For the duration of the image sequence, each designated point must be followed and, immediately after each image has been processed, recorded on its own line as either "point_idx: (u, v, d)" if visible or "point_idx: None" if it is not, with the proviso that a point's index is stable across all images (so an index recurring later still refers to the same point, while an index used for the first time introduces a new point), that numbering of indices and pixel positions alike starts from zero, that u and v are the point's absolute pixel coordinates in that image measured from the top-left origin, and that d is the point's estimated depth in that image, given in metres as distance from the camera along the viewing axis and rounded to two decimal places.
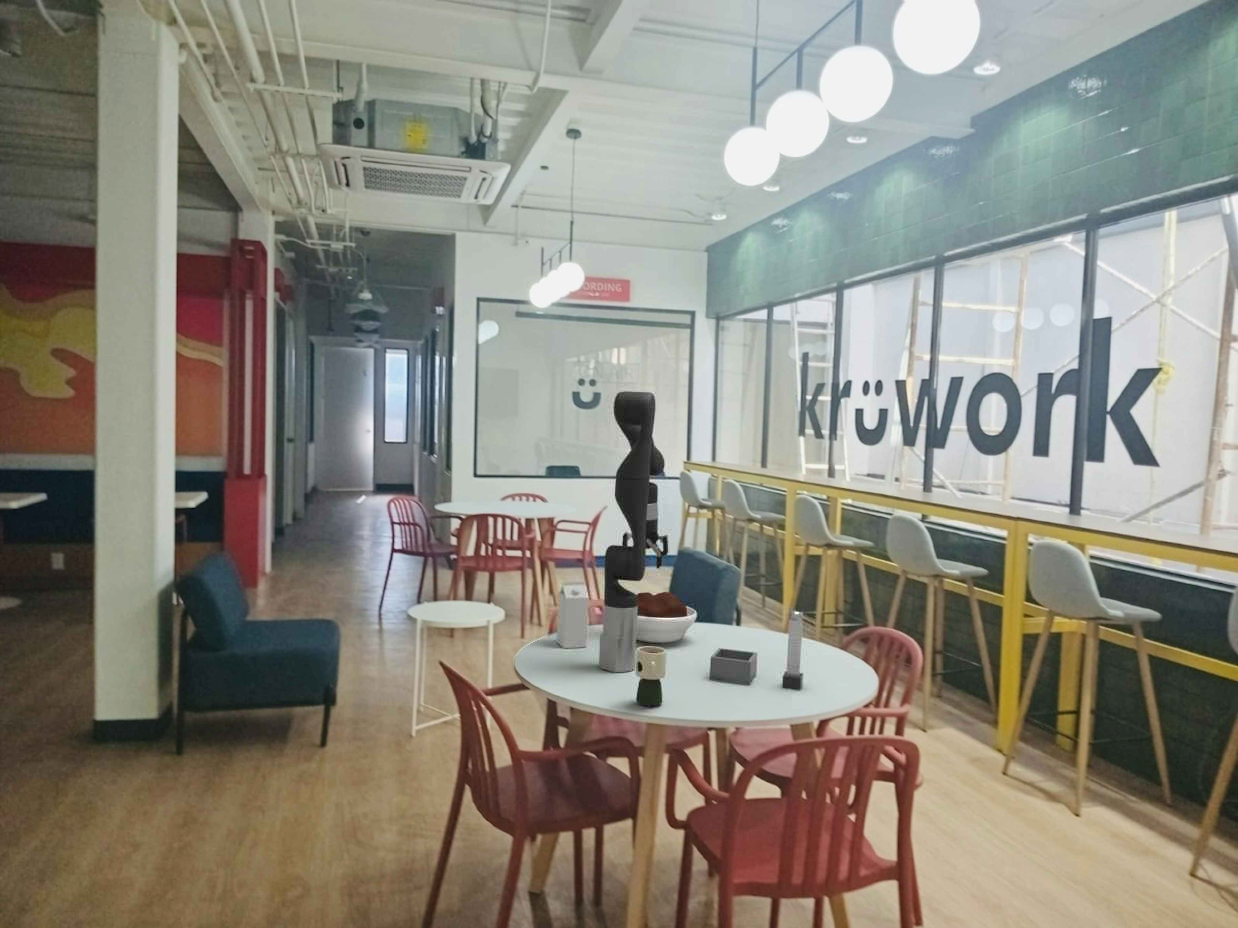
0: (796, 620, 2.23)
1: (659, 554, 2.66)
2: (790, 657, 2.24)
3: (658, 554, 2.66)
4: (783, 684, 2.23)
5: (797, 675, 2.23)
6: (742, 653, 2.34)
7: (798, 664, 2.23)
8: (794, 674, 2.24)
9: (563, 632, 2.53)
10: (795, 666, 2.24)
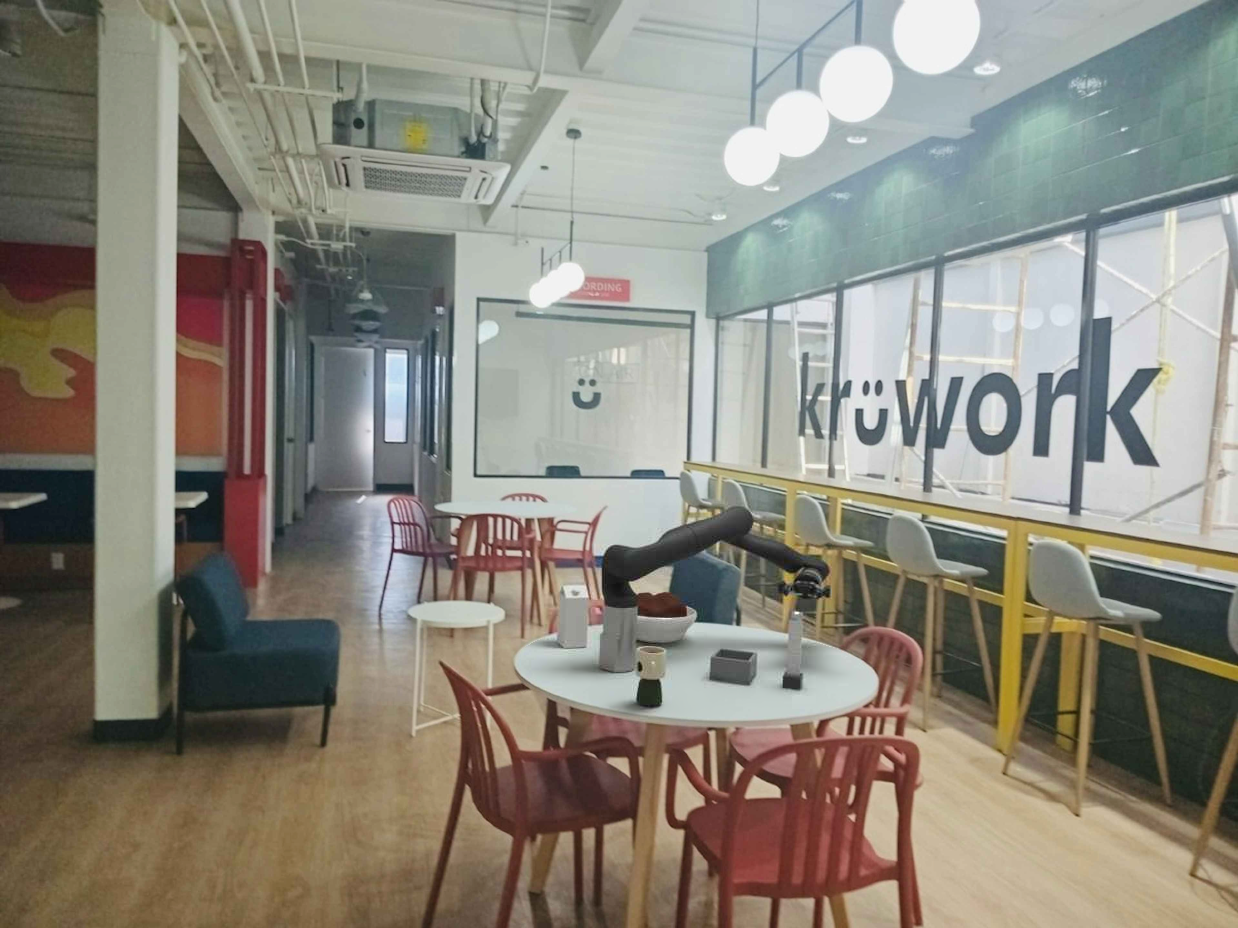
0: (796, 620, 2.23)
1: (821, 588, 2.38)
2: (790, 657, 2.24)
3: (820, 588, 2.38)
4: (783, 684, 2.23)
5: (797, 675, 2.23)
6: (742, 653, 2.34)
7: (798, 664, 2.23)
8: (794, 674, 2.24)
9: (563, 632, 2.53)
10: (795, 666, 2.24)
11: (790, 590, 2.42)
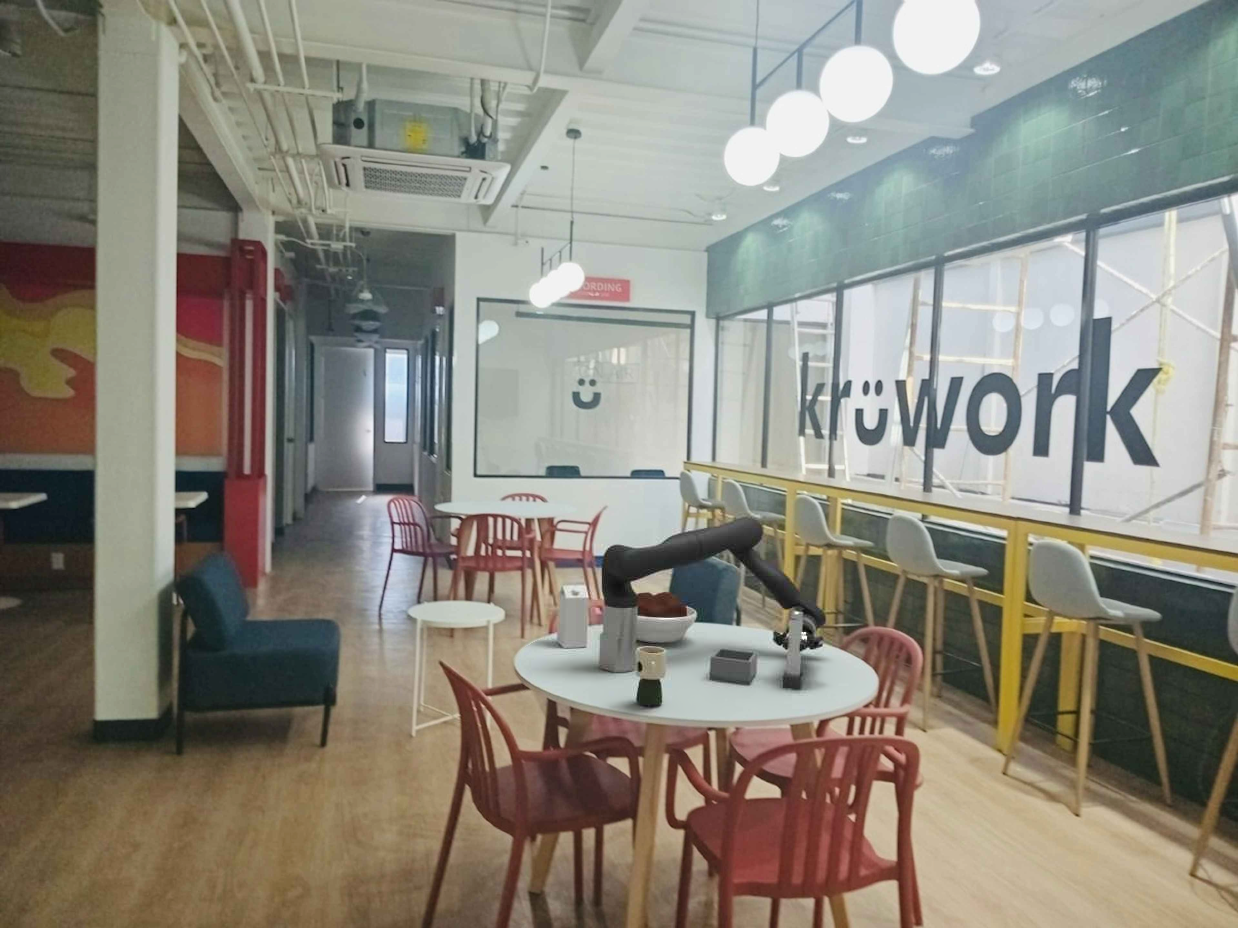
0: (796, 620, 2.23)
1: (805, 639, 2.25)
2: (790, 657, 2.24)
3: (803, 639, 2.25)
4: (783, 684, 2.23)
5: (797, 675, 2.23)
6: (742, 653, 2.34)
7: (798, 664, 2.23)
8: (794, 674, 2.24)
9: (563, 632, 2.53)
10: (795, 666, 2.24)
11: None
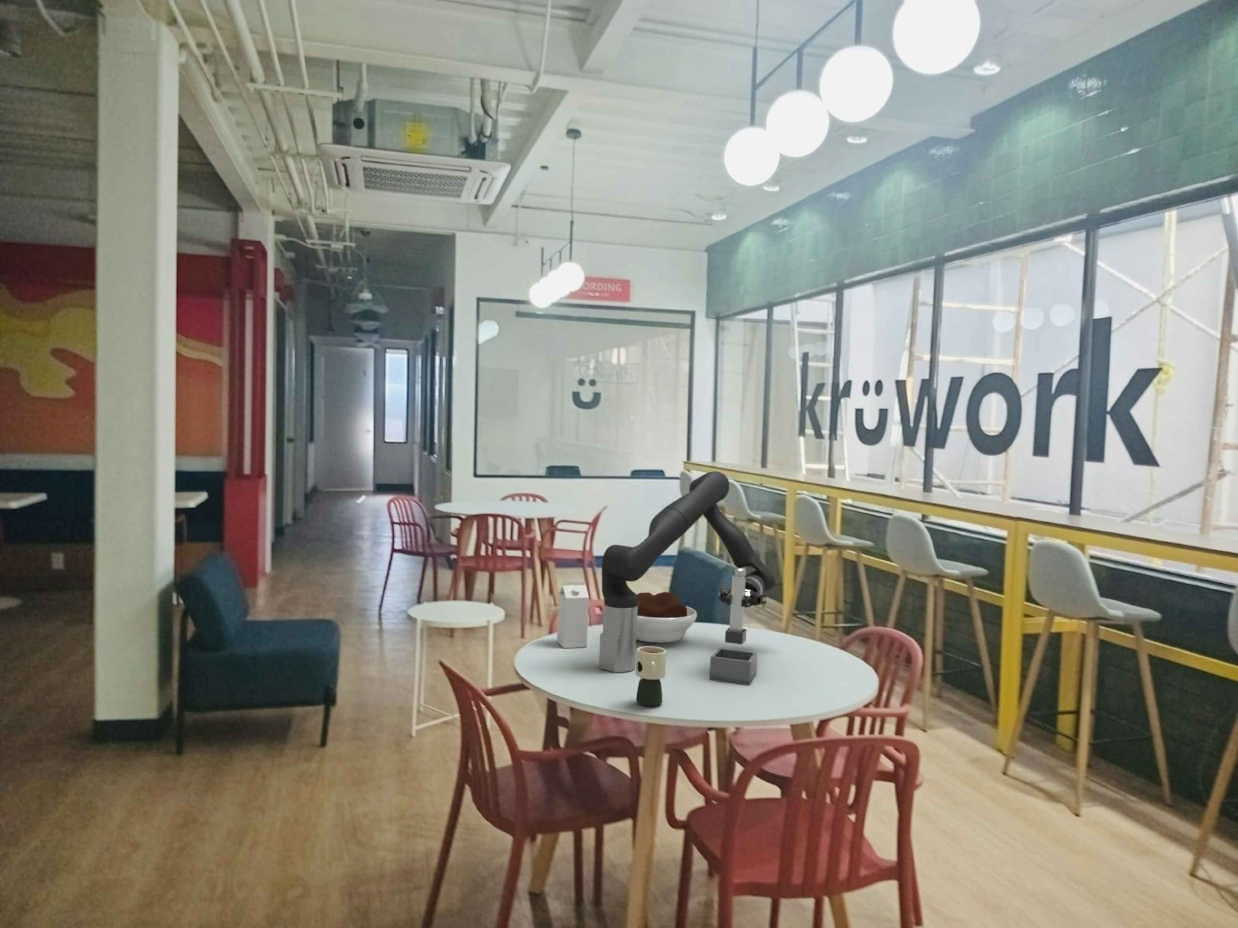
0: (739, 577, 2.28)
1: None
2: (733, 613, 2.29)
3: (746, 595, 2.31)
4: (726, 639, 2.28)
5: (740, 630, 2.29)
6: (742, 653, 2.34)
7: (740, 619, 2.29)
8: (737, 629, 2.29)
9: (563, 632, 2.53)
10: (737, 621, 2.29)
11: None
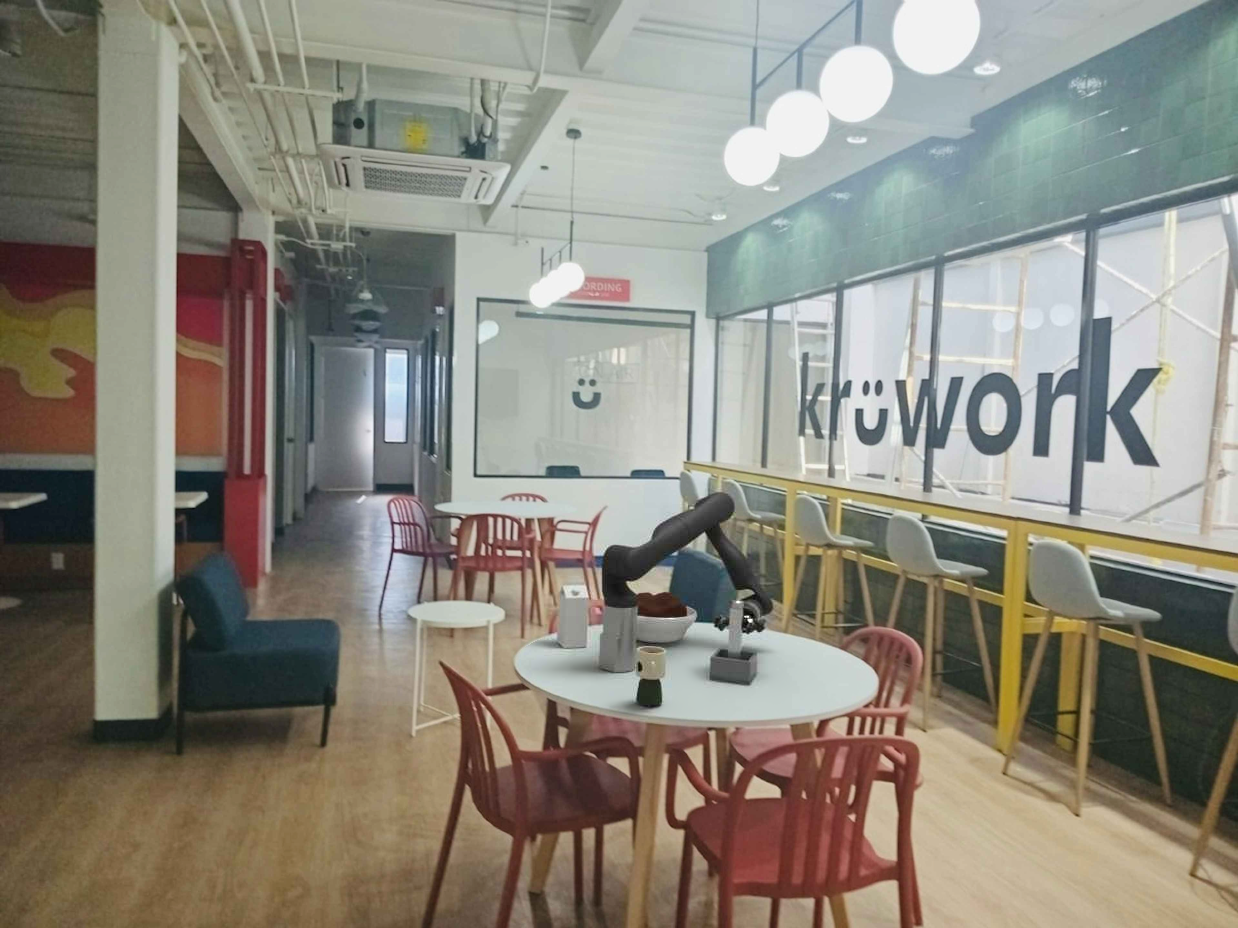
0: (737, 609, 2.29)
1: (752, 622, 2.31)
2: (731, 645, 2.30)
3: (751, 622, 2.31)
4: None
5: None
6: (742, 653, 2.34)
7: (738, 652, 2.29)
8: None
9: (563, 632, 2.53)
10: (735, 653, 2.30)
11: (726, 624, 2.35)
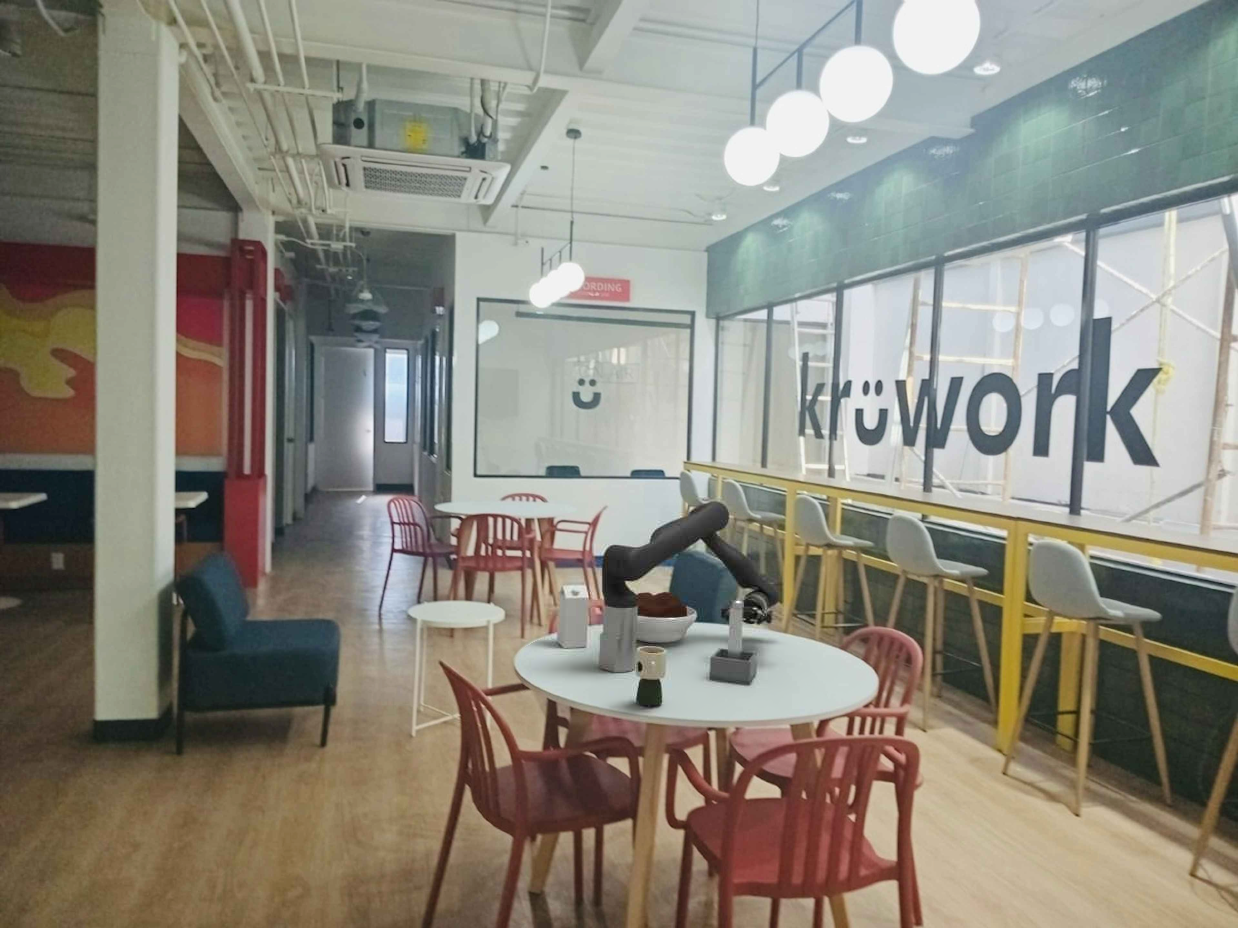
0: (737, 609, 2.29)
1: (762, 613, 2.43)
2: (731, 645, 2.30)
3: (761, 613, 2.43)
4: None
5: None
6: (742, 653, 2.34)
7: (738, 652, 2.29)
8: None
9: (563, 632, 2.53)
10: (735, 653, 2.30)
11: None
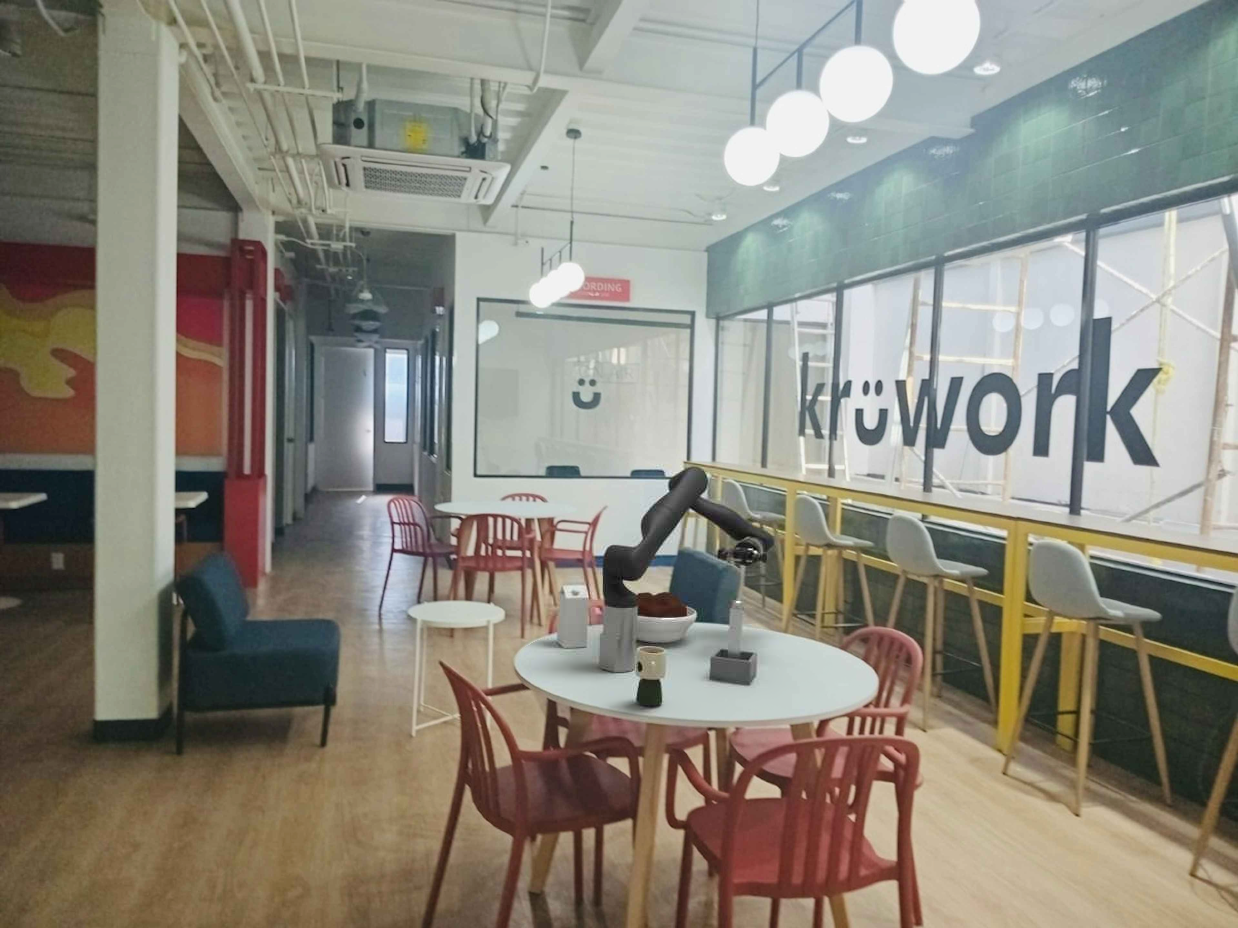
0: (737, 609, 2.29)
1: None
2: (731, 645, 2.30)
3: (757, 553, 2.46)
4: None
5: None
6: (742, 653, 2.34)
7: (738, 652, 2.29)
8: None
9: (563, 632, 2.53)
10: (735, 653, 2.30)
11: (729, 556, 2.50)
